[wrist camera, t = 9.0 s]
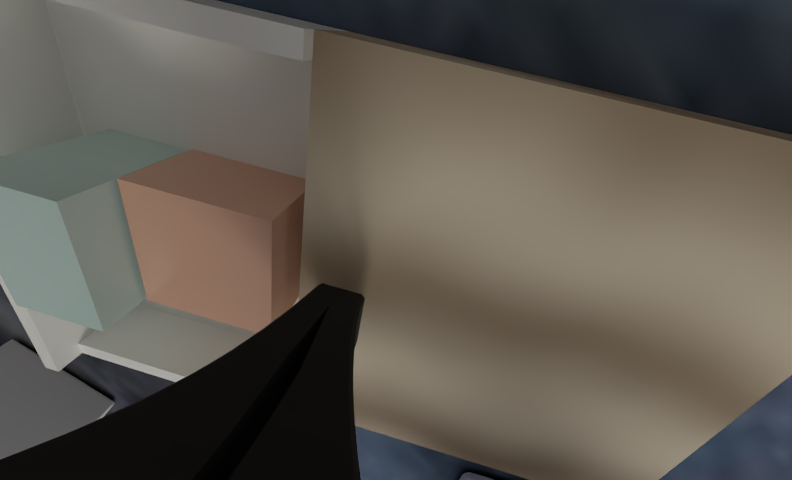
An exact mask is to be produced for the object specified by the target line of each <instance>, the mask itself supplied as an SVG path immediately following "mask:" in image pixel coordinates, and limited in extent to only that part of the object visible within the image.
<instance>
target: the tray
mask: <svg viewBox="0 0 792 480" xmlns="http://www.w3.org/2000/svg"><path fill="white" fill-rule="evenodd" d="M314 29H317V30H334V31H346V30H341V29H337V28H333V27H328V26H324V25H320V24H316V23H311V22H307V21H303V20H298V19H294V18H290V17H286V16H281V15H277V14H273V13H269V12H264V11H260V10H256V9H251V8H247V7H243V6H239V5H234V4H230V3H226V2H221V1H217V0H0V156H4V155H8V154H12V153H16V152H20V151H25V150H29V149H33V148H37V147H41V146H45V145H49V144H53V143H57V142H61V141H65V140H69V139H73V138H77V137H81V136H85V135H89V134H93V133H97V132H101V131H105V130H109V129H112V130H115V131H119V132H123V133H126V134H130V135H134V136H138V137H141V138H145V139H149V140H153V141H156V142H160V143H164V144H168V145H171V146H175V147H179V148H183V149H186V150H191V149H195V150H199V151H202V152H206V153H210V154H213V155H217V156H221V157H225V158H228V159H232V160H236V161H240V162H243V163H247V164H251V165H255V166H258V167H262V168H266V169H270V170H273V171H277V172H281V173H285V174H288V175H292V176H296V177H300V178H303V179H306V163H307V145H308V128H309V110H310V93H311V76H312V58H313V41H314ZM0 284H1V286H2V288H3V290H4V292H5V293H6V295H7V297H8V299H9V301H10V303H11V305H12V306H13V308H14V310H15V312H16V314H17V316H18V318H19V319H20V321H21V323H22V325H23V327H24V329H25V331H26V332H27V334H28V336H29V338H30V340H31V342H32V344H33V345H34V347H35V349H36V351H37V353H38V355H39V357H40V358H41V360H42V362H43V364H44V366H45V368H48V369H52V370H55V371H58V372H59V371H60V370H61V369H63V368H64V367H65V366H66V365H68V364H69V363H70V362H71V361H73V360H74V359H75V358H76V357H78V356H79V355H80V354H81V353H84V354H87V355H91V356H94V357H97V358H100V359H103V360H107V361H110V362H113V363H116V364H119V365H123V366H126V367H129V368H132V369H135V370H139V371H142V372H145V373H148V374H151V375H155V376H158V377H161V378H164V379H167V380H171V381H174V382H177V381H179V380H181V379H183V378H185V377H187V376H188V375H190V374H192V373H194V372H196V371H197V370H199V369H201V368H203V367H204V366H206V365H208V364H209V363H211V362H213V361H214V360H216V359H218V358H219V357H221V356H223V355H224V354H226V353H227V352H229V351H231V350H232V349H234V348H235V347H237V346H238V345H240V344H241V343H243V342H244V341H246V340H247V339H249V338H250V337H252V336H253V335H255V334H256V333H255V332H252V331H249V330H245V329H242V328H239V327H235V326H232V325H229V324H225V323H222V322H219V321H215V320H212V319H209V318H205V317H202V316H199V315H195V314H192V313H189V312H185V311H182V310H179V309H175V308H172V307H169V306H165V305H162V304H159V303H155V302H152V301H149V300H147V298H146V299H145V300H144V301H143V302H141V303H140V304H139V305H138V306H136V307H135V308H134V309H132V310H131V311H130V312H129V313H127V314H126V315H125V316H124V317H122V318H121V319H120V320H119V321H117V322H116V323H115V324H114V325H112V326H111V327H110V328H108V329H107V330H106V331H105V332H102V331H99V330H95V329H92V328H89V327H86V326H82V325H79V324H76V323H73V322H70V321H66V320H63V319H60V318H57V317H53V316H50V315H47V314H44V313H40V312H37V311H34V310H31V309H27V308H24V307H21V306H18V305H16V303H15V301H14V299H13V298H12V296H11V294H10V292H9V290H8V288H7V286H6V284H5V282H4V281H3V279H2V277H1V275H0ZM297 302H299V297H298V299H297V300H296V302H295V303H294V305H295V304H296V303H297ZM294 305H293V306H294Z"/></svg>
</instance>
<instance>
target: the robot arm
mask: <svg viewBox="0 0 792 480" xmlns="http://www.w3.org/2000/svg"><path fill="white" fill-rule="evenodd" d="M364 301H365V298H364V296H363V295H362V294H359V293H356V292H352V291H349V290H345V289H341V288H338V287H334V286H331V285H327V284H324V283H321V284H319V285H318V286H316V287H315V288H314V289H313V290H312V291H311V292H309V293H308V294H307V295H306V296H305V297H303V298H302V299H301V300H300V301H299V302H297V303H296V304H295V305H294V306H292V307H291V308H290V309H289V310H287V311H286V312H285V313H283V314H282V315H281V316H279V317H278V318H277V319H275V320H274V321H273V322H271V323H270V324H269V325H267V326H266V327H265V328H263V329H262V330H260V331H259V332H257V333H256V334H255V335H253V336H252V337H250V338H249V339H247V340H246V341H244V342H243V343H241V344H240V345H238V346H237V347H235V348H234V349H232V350H231V351H229V352H227V353H226V354H224V355H223V356H221V357H219V358H218V359H216V360H214V361H213V362H211V363H209V364H208V365H206V366H204V367H203V368H201V369H199V370H197V371H196V372H194V373H192V374H190V375H188V376H187V377H185V378H183V379H181V380H179V381H177V382H175V383H173V384H171V385H170V386H168V387H166V388H164V389H162V390H160V391H158V392H156V393H154V394H152V395H150V396H148V397H146V398H144V399H142V400H140V401H138V402H136V403H134V404H131V405H129V406H127V407H125V408H123V409H120V410H118V411H116V412H114V413H111V414H109V415H107V416H105V417H103V418H100V419H98V420H96V421H94V422H92V423H89V424H87V425H85V426H83V427H80V428H78V429H76V430H73V431H71V432H69V433H66V434H64V435H61V436H59V437H56V438H54V439H51V440H49V441H46V442H43V443H41V444H38V445H36V446H33V447H31V448H28V449H26V450H23V451H21V452H18V453H16V454H13V455H10V456H8V457H5V458H3V459H0V480H361V479H360V471H359V463H358V455H357V444H356V432H355V418H354V396H353V364H354V349H355V346H356V343H357V339H358V333H359V328H360V322H361V317H362V312H363V306H364ZM459 480H494V479H491V478H488V477H485V476H482V475H478V474H475V473H471V472H466V473H464V474H463V475H462V476H461V478H460V479H459Z"/></svg>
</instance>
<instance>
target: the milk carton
mask: <svg viewBox="0 0 792 480" xmlns="http://www.w3.org/2000/svg"><path fill="white" fill-rule="evenodd" d="M113 405H114V402H113V401H112V400H110V399H109V398H107V397H106V396H104V395H102V394H101V393H99V392H98V391H96V390H94V389H93V388H91V387H90V386H88V385H86V384H85V383H83V382H82V381H80V380H78V379H77V378H75V377H74V376H72V375H70V374H69V373H67V372H66V371H64V370H62V369H61V370H60V371H59V372H58V371H55V370H52V369H48V368H45V366H44V364H43V362H42V360H41V358H40V357H39V355H38V354H36V353H35V352H33V351H32V350H30V349H28V348H27V347H25V346H23V345H22V344H20V343H19V342H17V341H15V340H13V339H12V340H10V341H8V342H7V343H5V344H3V345H2V346H0V459H3V458H5V457H8V456H10V455H13V454H16V453H18V452H21V451H23V450H26V449H28V448H31V447H33V446H36V445H38V444H41V443H43V442H46V441H49V440H51V439H54V438H56V437H59V436H61V435H64V434H66V433H69V432H71V431H73V430H76V429H78V428H80V427H83V426H85V425H87V424H89V423H92V422H94V421H96V420H98V419H100V418H103V417H104V416H105V414H106V413H107V412H108V411H109V410H110V409H111V407H112V406H113Z"/></svg>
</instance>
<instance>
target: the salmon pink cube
mask: <svg viewBox="0 0 792 480" xmlns="http://www.w3.org/2000/svg"><path fill="white" fill-rule="evenodd" d="M305 180H306V179H303V178H300V177H296V176H292V175H288V174H285V173H281V172H277V171H273V170H270V169H266V168H262V167H258V166H255V165H251V164H247V163H243V162H240V161H236V160H232V159H228V158H225V157H221V156H217V155H213V154H210V153H206V152H202V151H199V150H195V149H191V150H189V151H186V152H184V153H181V154H179V155H176V156H173V157H171V158H168V159H166V160H163V161H161V162H158V163H156V164H153V165H150V166H148V167H145V168H143V169H140V170H138V171H135V172H133V173H130V174H127V175H125V176H122V177H120V178H117V181H118V185H119V189H120V193H121V197H122V201H123V205H124V209H125V213H126V217H127V221H128V225H129V229H130V233H131V237H132V241H133V245H134V249H135V253H136V257H137V260H138V264H139V268H140V272H141V276H142V280H143V284H144V288H145V292H146V296H147V300H149V301H152V302H155V303H159V304H162V305H165V306H169V307H172V308H175V309H179V310H182V311H185V312H189V313H192V314H195V315H199V316H202V317H205V318H209V319H212V320H215V321H219V322H222V323H225V324H229V325H232V326H235V327H239V328H242V329H245V330H249V331H252V332H255V333H257V332H259V331H260V330H262V329H263V328H265V327H266V326H267V325H269V324H270V323H271V322H273V321H274V320H275V319H277V318H278V317H279V316H281V315H282V314H283V313H285V312H286V311H287V310H289V309H290V308H291V307H292V306H293V305H294V303H295V302H296V300H297V299H298V297H299V284H300V267H301V250H302V232H303V215H304V197H305Z"/></svg>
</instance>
